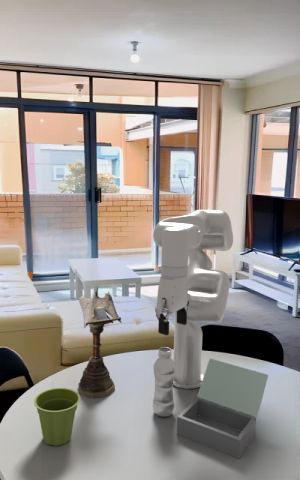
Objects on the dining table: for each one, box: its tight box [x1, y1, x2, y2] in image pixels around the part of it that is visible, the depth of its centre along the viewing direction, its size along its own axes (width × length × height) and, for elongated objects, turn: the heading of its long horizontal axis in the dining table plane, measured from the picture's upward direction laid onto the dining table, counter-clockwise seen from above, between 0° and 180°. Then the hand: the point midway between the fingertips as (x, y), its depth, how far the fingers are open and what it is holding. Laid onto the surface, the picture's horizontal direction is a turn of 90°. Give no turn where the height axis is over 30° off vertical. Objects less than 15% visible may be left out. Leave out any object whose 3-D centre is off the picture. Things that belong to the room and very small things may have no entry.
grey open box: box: [176, 397, 257, 459], centre depth 114 cm, size 18×12×5 cm, turn 57°
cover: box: [196, 358, 269, 419], centre depth 121 cm, size 18×12×1 cm
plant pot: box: [33, 387, 81, 447], centre depth 110 cm, size 12×12×11 cm
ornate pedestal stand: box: [78, 284, 122, 399], centre depth 132 cm, size 17×13×35 cm
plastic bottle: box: [152, 346, 175, 418], centre depth 122 cm, size 6×7×20 cm
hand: (172, 328), depth 120 cm, fingers open, 9 cm apart
